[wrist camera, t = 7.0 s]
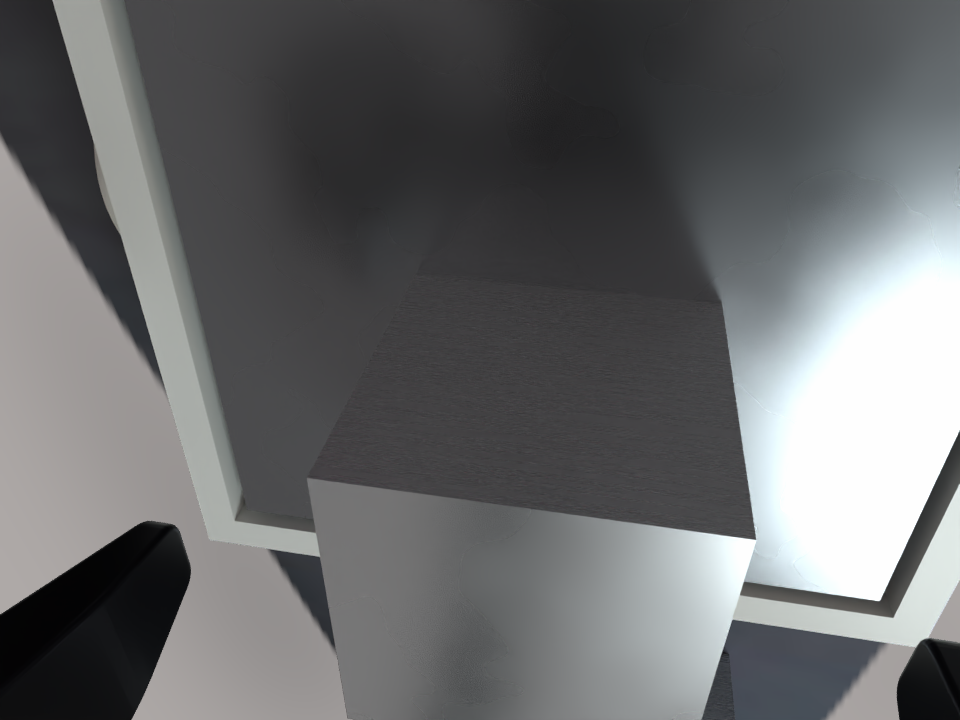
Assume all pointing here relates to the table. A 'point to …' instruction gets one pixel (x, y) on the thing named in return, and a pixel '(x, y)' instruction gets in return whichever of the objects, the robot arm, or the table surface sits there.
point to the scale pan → (588, 217)
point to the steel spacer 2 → (720, 693)
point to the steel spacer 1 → (535, 507)
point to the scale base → (196, 400)
